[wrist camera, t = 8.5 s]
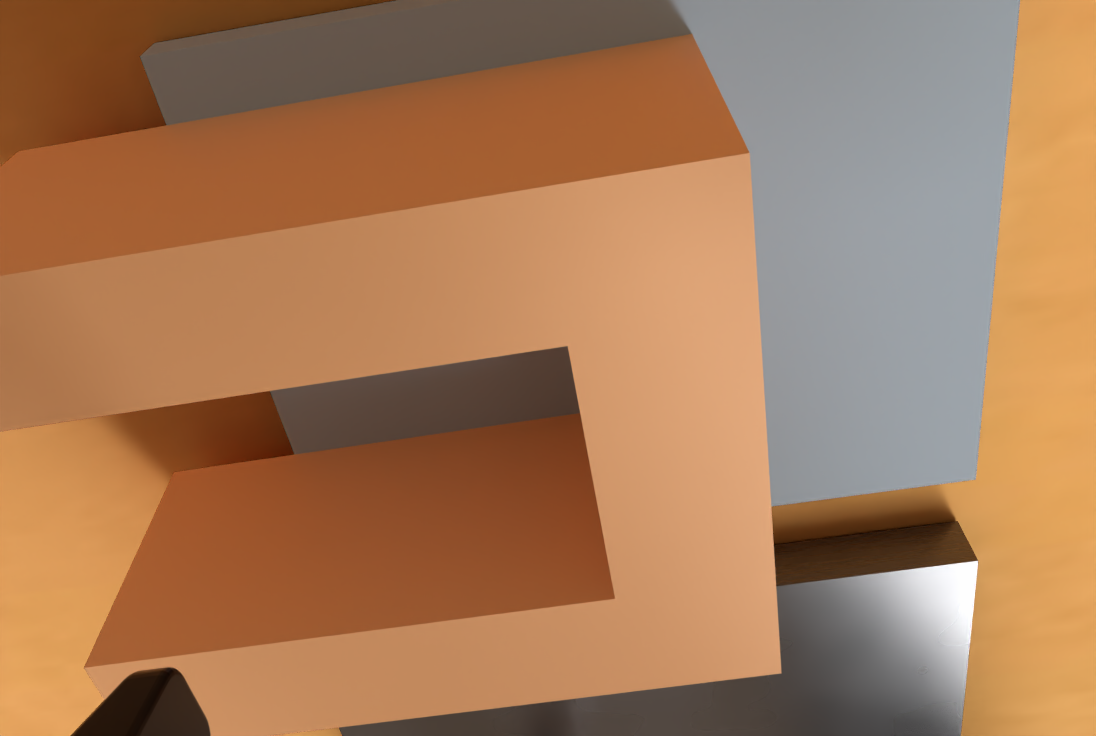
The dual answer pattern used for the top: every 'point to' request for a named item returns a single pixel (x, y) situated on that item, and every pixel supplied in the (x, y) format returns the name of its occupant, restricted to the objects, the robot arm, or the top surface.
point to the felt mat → (778, 206)
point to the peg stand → (801, 656)
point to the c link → (411, 343)
